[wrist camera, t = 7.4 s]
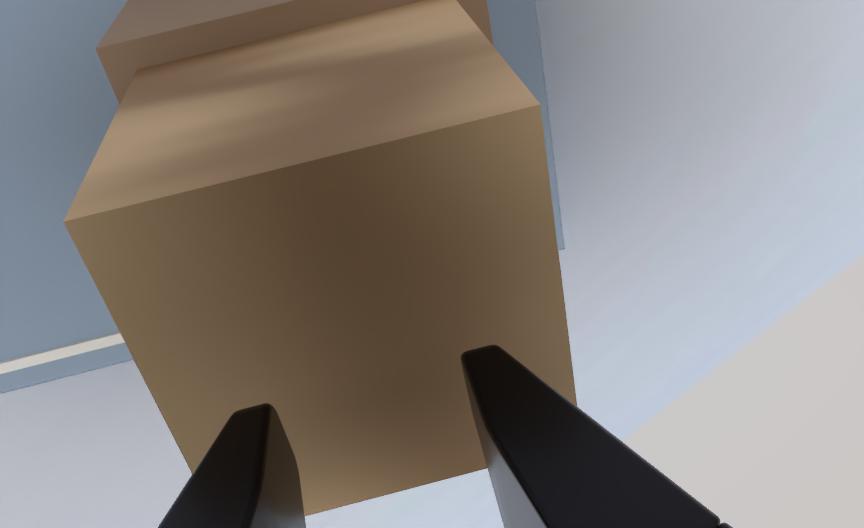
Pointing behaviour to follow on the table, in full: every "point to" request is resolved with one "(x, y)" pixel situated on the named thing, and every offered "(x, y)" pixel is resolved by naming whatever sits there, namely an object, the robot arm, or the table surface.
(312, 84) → the oak cube
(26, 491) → the table surface
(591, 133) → the table surface
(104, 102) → the blueprint board
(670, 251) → the table surface
